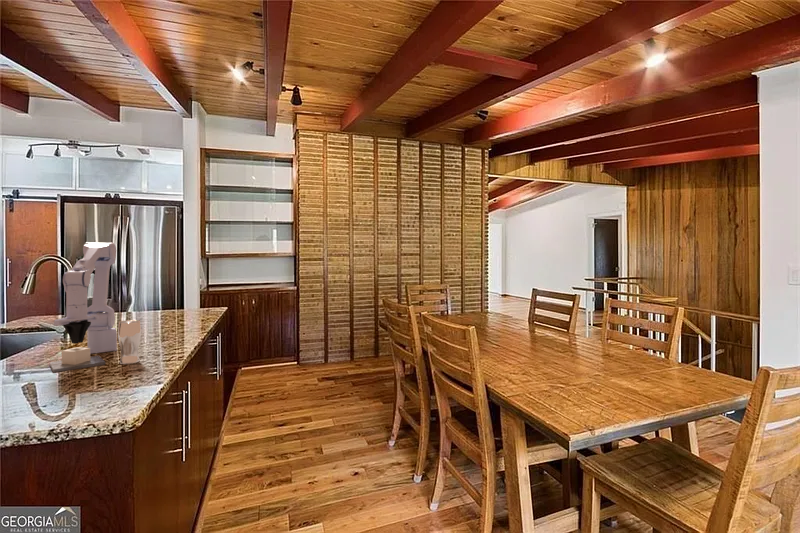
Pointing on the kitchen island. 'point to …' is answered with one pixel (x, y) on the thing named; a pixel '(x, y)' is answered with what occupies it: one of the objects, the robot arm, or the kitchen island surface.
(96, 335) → the robot arm
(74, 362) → the block
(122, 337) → the beer glass
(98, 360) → the flat plate
